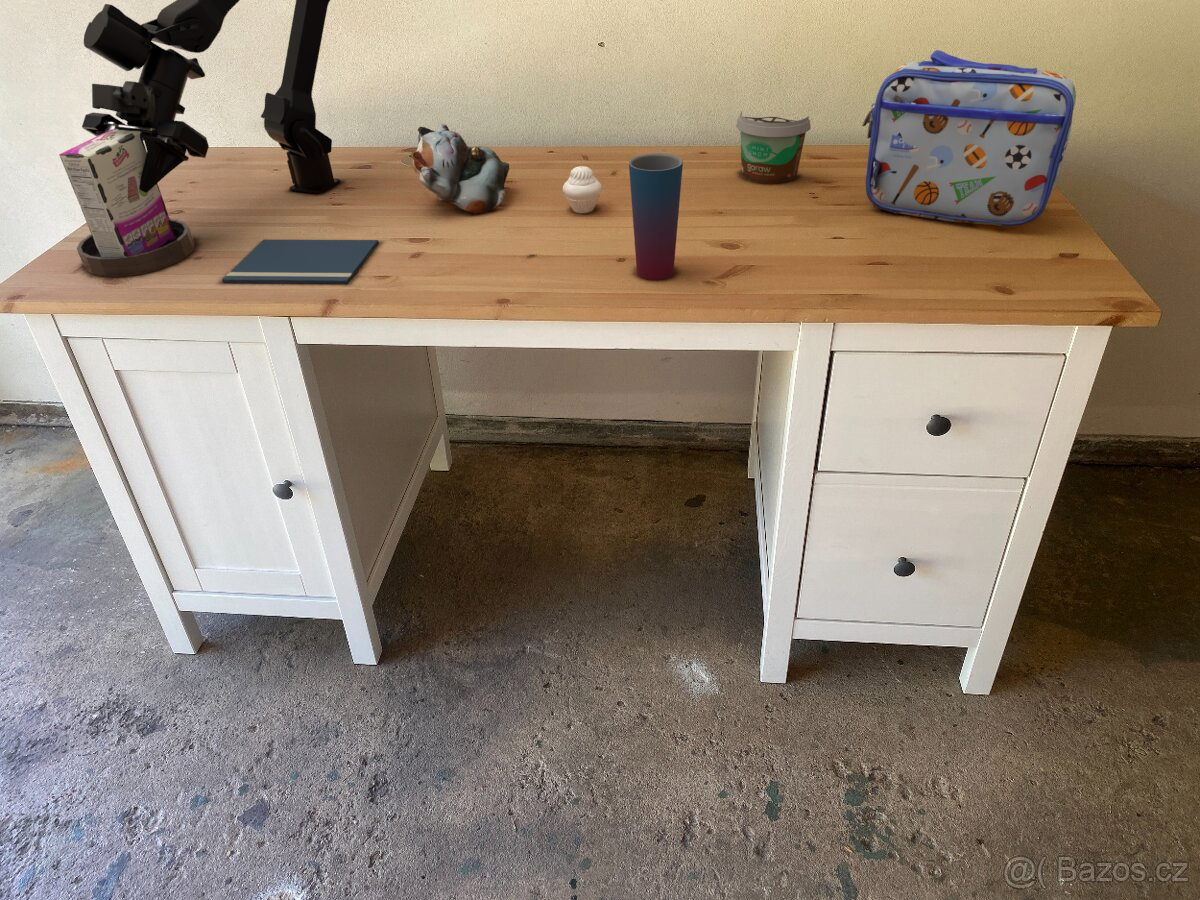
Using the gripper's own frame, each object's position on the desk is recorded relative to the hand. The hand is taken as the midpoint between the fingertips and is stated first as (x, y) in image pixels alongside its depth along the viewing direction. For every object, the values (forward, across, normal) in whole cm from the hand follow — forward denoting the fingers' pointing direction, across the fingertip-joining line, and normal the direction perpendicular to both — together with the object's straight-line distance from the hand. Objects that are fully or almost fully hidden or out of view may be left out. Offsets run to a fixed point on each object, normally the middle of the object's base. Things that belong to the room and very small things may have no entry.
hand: (128, 189), depth 121 cm
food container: (-33, +81, +46) cm, 99 cm away
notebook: (+4, +26, +9) cm, 28 cm away
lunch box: (-28, +110, +42) cm, 121 cm away
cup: (-5, +76, +18) cm, 78 cm away
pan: (+8, 0, +5) cm, 10 cm away
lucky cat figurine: (-16, +37, +29) cm, 50 cm away
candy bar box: (+8, 0, +5) cm, 9 cm away
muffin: (-18, +57, +31) cm, 67 cm away
